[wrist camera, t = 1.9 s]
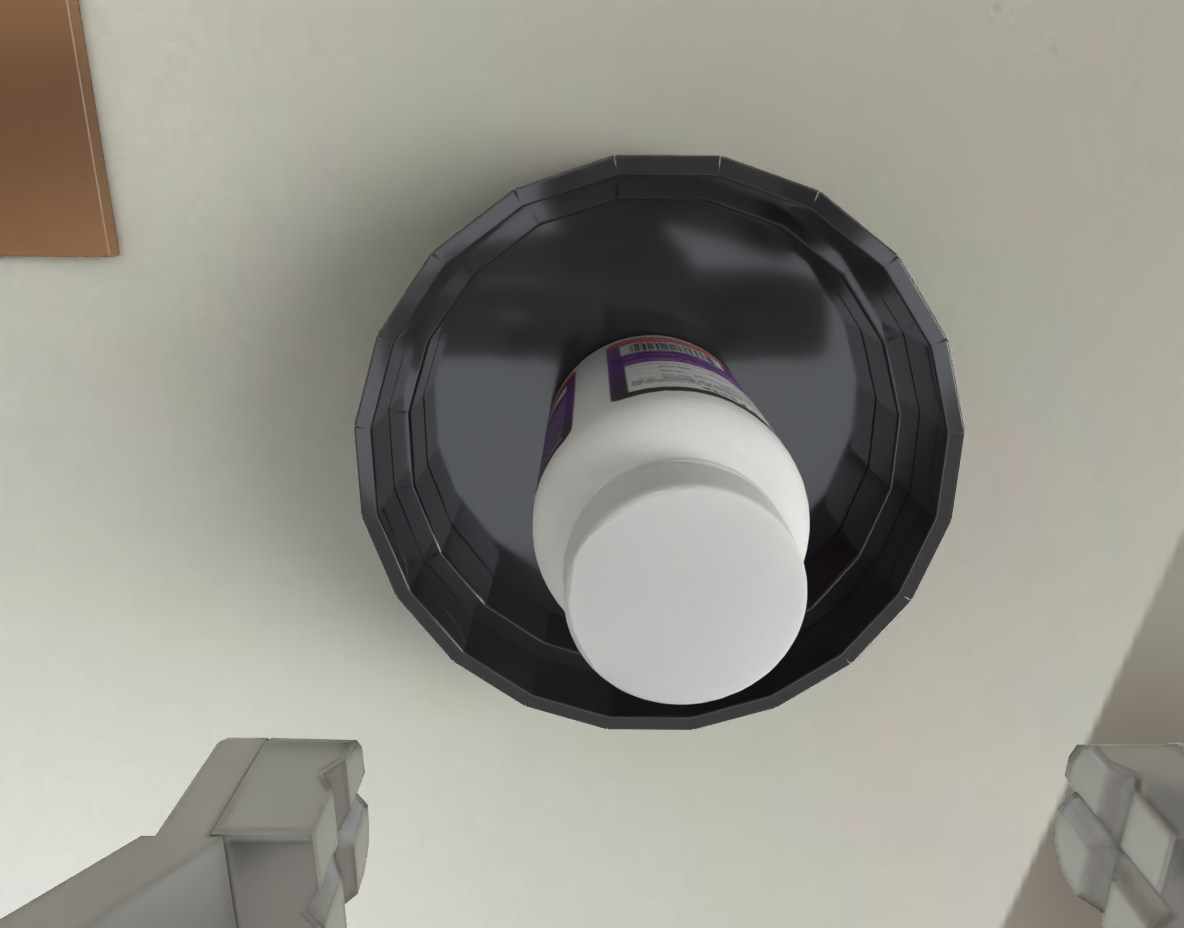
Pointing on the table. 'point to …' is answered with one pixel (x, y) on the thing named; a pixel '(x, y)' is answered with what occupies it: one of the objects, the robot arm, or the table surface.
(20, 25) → the copper plate
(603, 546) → the pill bottle
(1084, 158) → the table surface
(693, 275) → the pan
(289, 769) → the robot arm
